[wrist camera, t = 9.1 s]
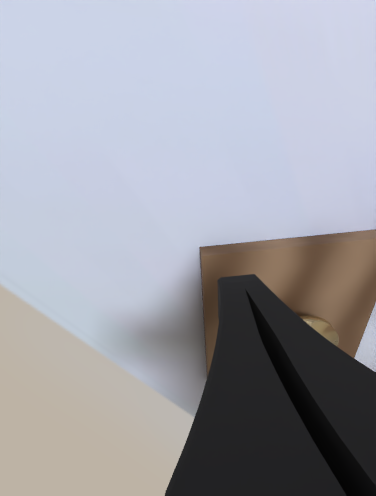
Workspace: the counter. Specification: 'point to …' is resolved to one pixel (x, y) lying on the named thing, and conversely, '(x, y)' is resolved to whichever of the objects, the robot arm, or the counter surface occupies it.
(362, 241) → the dial board
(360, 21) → the counter surface
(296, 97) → the counter surface
